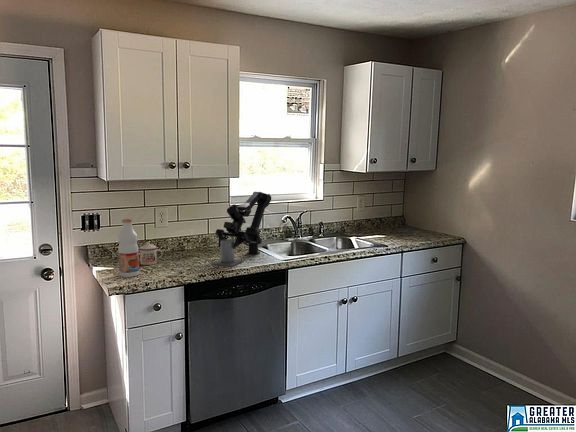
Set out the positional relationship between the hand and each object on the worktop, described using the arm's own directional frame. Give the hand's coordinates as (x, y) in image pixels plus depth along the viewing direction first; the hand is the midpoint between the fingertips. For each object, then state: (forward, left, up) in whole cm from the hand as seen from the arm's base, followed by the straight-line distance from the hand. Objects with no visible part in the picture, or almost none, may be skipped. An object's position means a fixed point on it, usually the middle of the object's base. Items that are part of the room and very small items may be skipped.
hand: (226, 247), depth 261 cm
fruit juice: (+40, -32, -9) cm, 52 cm away
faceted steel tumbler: (-1, 0, -8) cm, 8 cm away
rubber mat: (-1, 0, -9) cm, 9 cm away
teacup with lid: (+16, -38, -9) cm, 42 cm away
